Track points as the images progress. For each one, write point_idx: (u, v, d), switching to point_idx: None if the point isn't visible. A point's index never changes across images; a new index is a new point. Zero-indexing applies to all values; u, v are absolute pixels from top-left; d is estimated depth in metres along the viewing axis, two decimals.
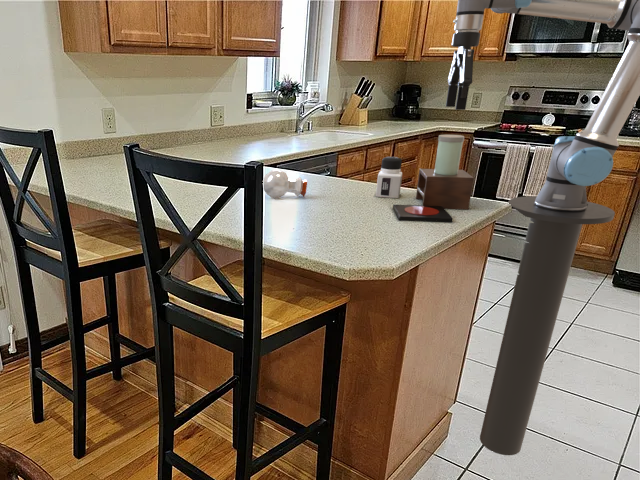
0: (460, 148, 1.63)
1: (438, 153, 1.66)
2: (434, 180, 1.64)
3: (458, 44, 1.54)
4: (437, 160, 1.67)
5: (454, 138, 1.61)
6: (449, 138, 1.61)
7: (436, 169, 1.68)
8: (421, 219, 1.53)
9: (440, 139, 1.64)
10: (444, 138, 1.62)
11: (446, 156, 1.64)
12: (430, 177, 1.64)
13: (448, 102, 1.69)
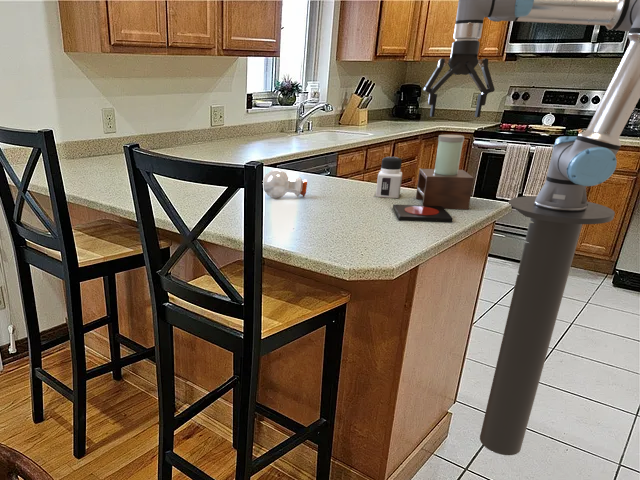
0: (460, 148, 1.63)
1: (438, 153, 1.66)
2: (434, 180, 1.64)
3: None
4: (437, 160, 1.67)
5: (454, 138, 1.61)
6: (449, 138, 1.61)
7: (436, 169, 1.68)
8: (421, 219, 1.53)
9: (440, 139, 1.64)
10: (444, 138, 1.62)
11: (446, 156, 1.64)
12: (430, 177, 1.64)
13: (475, 112, 1.62)
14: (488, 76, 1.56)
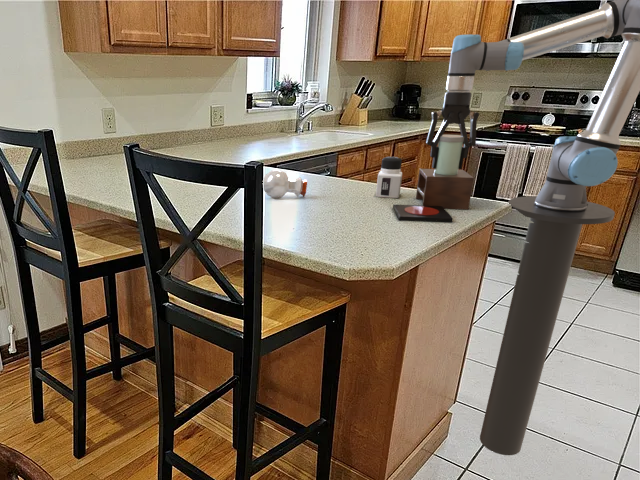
0: (460, 148, 1.63)
1: (438, 153, 1.66)
2: (434, 180, 1.64)
3: None
4: (437, 160, 1.67)
5: (454, 138, 1.61)
6: (449, 138, 1.61)
7: (436, 169, 1.68)
8: (421, 219, 1.53)
9: (440, 139, 1.64)
10: (444, 138, 1.62)
11: (446, 156, 1.64)
12: (430, 177, 1.64)
13: None
14: (473, 129, 1.62)
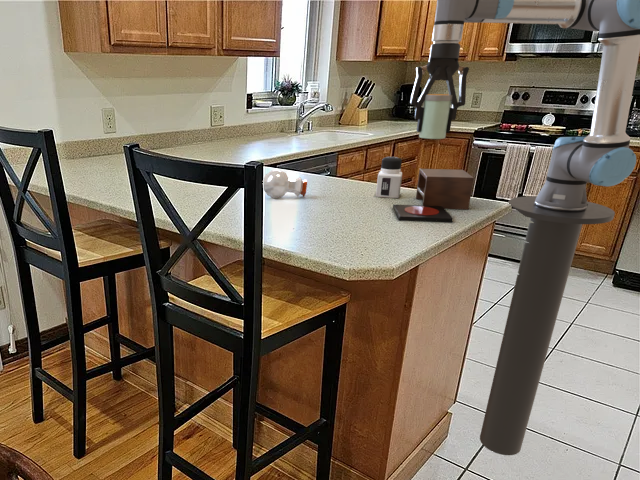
0: (448, 108, 1.45)
1: (423, 114, 1.48)
2: (434, 180, 1.64)
3: None
4: (422, 122, 1.49)
5: (441, 96, 1.43)
6: (435, 96, 1.43)
7: (421, 133, 1.50)
8: (421, 219, 1.53)
9: (425, 98, 1.46)
10: (430, 96, 1.44)
11: (432, 116, 1.46)
12: (430, 177, 1.64)
13: None
14: (463, 87, 1.44)
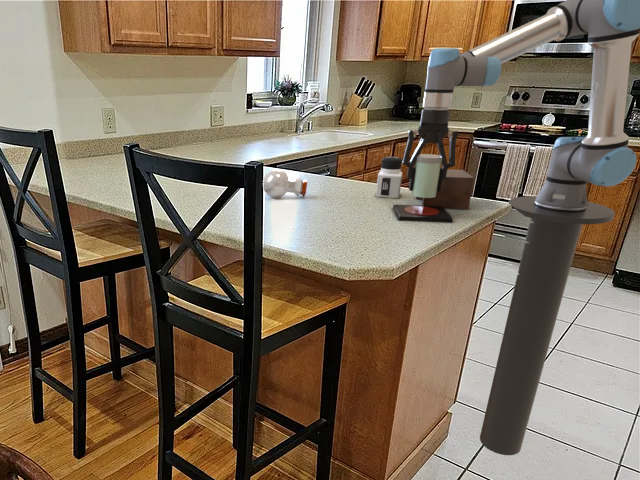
0: (438, 169, 1.52)
1: (415, 174, 1.54)
2: None
3: None
4: (414, 182, 1.55)
5: (431, 159, 1.49)
6: (426, 159, 1.50)
7: (413, 191, 1.56)
8: (421, 219, 1.53)
9: (417, 159, 1.52)
10: (421, 158, 1.51)
11: (424, 177, 1.52)
12: None
13: None
14: (452, 150, 1.50)
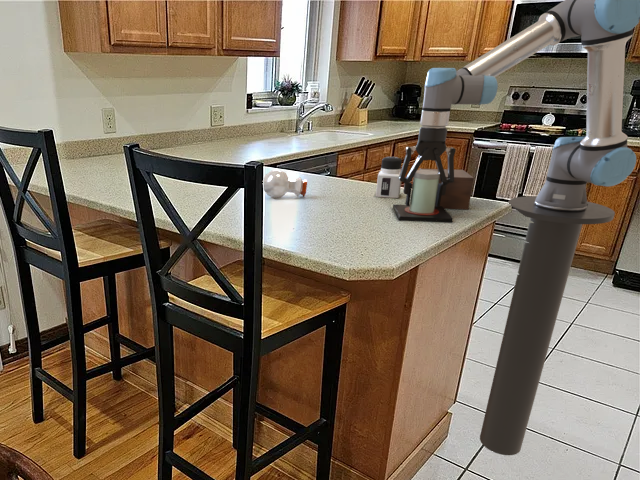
0: (436, 185, 1.53)
1: (413, 190, 1.56)
2: None
3: None
4: (412, 197, 1.57)
5: (429, 175, 1.51)
6: (424, 175, 1.52)
7: (411, 206, 1.58)
8: (421, 219, 1.53)
9: (415, 175, 1.54)
10: (419, 175, 1.53)
11: (421, 193, 1.54)
12: None
13: (436, 200, 1.58)
14: (451, 166, 1.52)
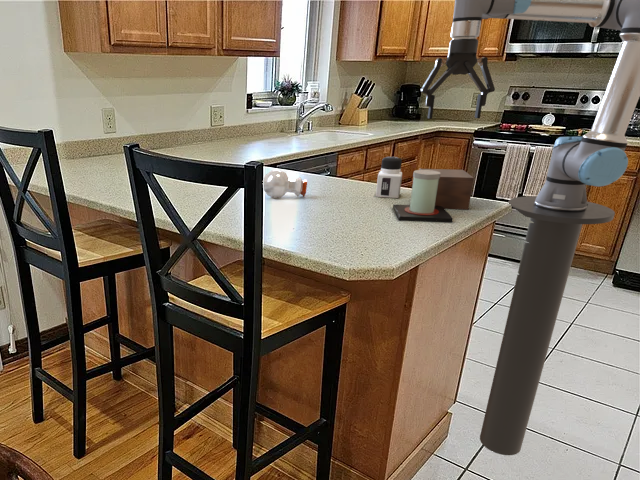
0: (436, 185, 1.53)
1: (413, 190, 1.56)
2: None
3: None
4: (412, 197, 1.57)
5: (429, 175, 1.51)
6: (424, 175, 1.52)
7: (411, 206, 1.58)
8: (421, 219, 1.53)
9: (415, 175, 1.54)
10: (419, 175, 1.53)
11: (421, 193, 1.54)
12: None
13: (475, 113, 1.56)
14: (487, 75, 1.49)
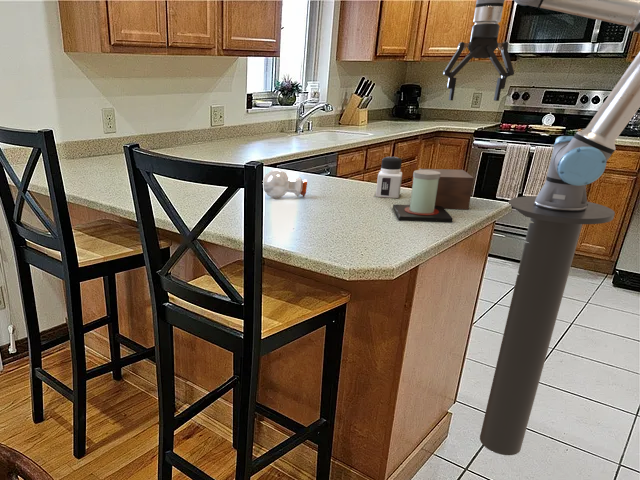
0: (436, 185, 1.53)
1: (413, 190, 1.56)
2: None
3: None
4: (412, 197, 1.57)
5: (429, 175, 1.51)
6: (424, 175, 1.52)
7: (411, 206, 1.58)
8: (421, 219, 1.53)
9: (415, 175, 1.54)
10: (419, 175, 1.53)
11: (421, 193, 1.54)
12: None
13: None
14: (507, 59, 1.57)
